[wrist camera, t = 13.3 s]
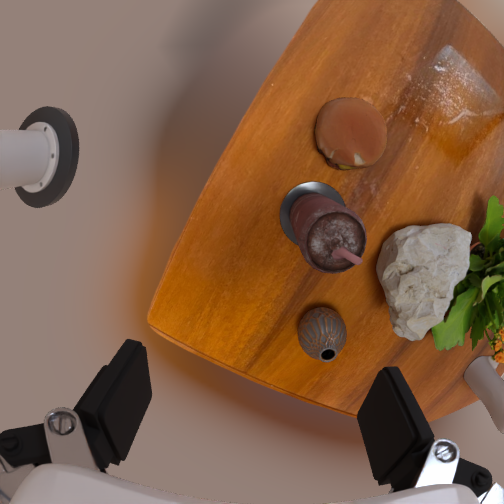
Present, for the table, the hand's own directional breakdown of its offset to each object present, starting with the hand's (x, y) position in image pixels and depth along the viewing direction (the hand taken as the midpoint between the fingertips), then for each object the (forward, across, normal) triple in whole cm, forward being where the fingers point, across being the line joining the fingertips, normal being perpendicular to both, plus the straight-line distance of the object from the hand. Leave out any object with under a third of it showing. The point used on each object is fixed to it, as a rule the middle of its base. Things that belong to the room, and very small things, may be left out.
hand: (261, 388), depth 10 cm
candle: (+28, -56, +25) cm, 67 cm away
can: (+28, -6, -2) cm, 29 cm away
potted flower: (+28, -38, 0) cm, 48 cm away
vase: (+29, -10, +13) cm, 33 cm away
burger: (+29, -10, -14) cm, 33 cm away
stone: (+29, -23, +1) cm, 37 cm away
